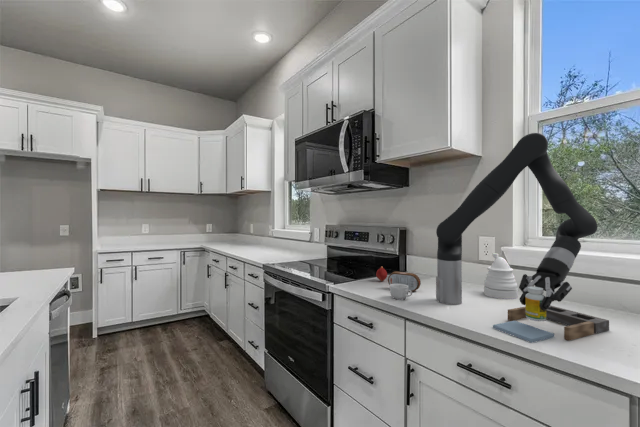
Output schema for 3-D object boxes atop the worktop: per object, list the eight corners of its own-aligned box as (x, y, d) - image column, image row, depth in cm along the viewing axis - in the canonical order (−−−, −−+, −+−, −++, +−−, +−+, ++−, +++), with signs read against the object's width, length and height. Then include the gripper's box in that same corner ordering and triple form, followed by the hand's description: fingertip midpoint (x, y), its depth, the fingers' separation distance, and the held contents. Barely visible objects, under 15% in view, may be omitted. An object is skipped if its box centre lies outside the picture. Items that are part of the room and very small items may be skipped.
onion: (375, 280, 167) (374, 265, 167) (385, 280, 168) (385, 265, 168) (377, 282, 161) (377, 267, 161) (388, 282, 162) (388, 267, 162)
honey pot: (478, 294, 137) (478, 254, 137) (491, 289, 145) (491, 251, 145) (510, 300, 127) (510, 257, 127) (522, 295, 135) (522, 254, 135)
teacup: (386, 298, 132) (385, 285, 132) (396, 295, 137) (396, 282, 137) (406, 303, 125) (406, 289, 125) (416, 299, 130) (416, 286, 130)
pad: (514, 323, 101) (514, 320, 101) (554, 337, 90) (554, 333, 90) (492, 328, 97) (492, 324, 97) (531, 342, 86) (531, 339, 86)
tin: (420, 291, 143) (420, 273, 143) (419, 293, 140) (418, 274, 140) (389, 287, 151) (389, 270, 151) (387, 289, 148) (387, 271, 148)
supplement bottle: (530, 314, 100) (529, 285, 100) (549, 319, 95) (549, 288, 95) (522, 318, 97) (522, 287, 97) (542, 323, 92) (541, 290, 92)
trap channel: (545, 312, 112) (545, 302, 112) (609, 330, 95) (609, 318, 95) (507, 320, 104) (507, 309, 104) (568, 340, 87) (568, 328, 87)
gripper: (528, 254, 105) (504, 292, 101) (576, 259, 92) (551, 304, 88) (538, 268, 107) (515, 307, 103) (587, 276, 94) (563, 320, 90)
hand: (531, 305), depth 95 cm, fingers closed on supplement bottle, 5 cm apart
